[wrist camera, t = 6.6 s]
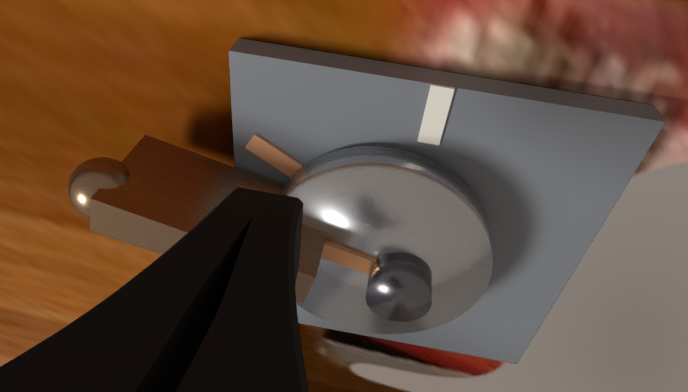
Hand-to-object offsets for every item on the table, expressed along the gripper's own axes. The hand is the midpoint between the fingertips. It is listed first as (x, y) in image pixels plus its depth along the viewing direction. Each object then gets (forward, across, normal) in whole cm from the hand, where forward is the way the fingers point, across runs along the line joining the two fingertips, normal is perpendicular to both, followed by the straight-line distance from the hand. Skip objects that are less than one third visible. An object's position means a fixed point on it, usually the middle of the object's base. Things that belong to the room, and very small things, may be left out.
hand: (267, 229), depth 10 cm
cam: (+6, 0, +5) cm, 8 cm away
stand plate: (+8, -4, +6) cm, 10 cm away
